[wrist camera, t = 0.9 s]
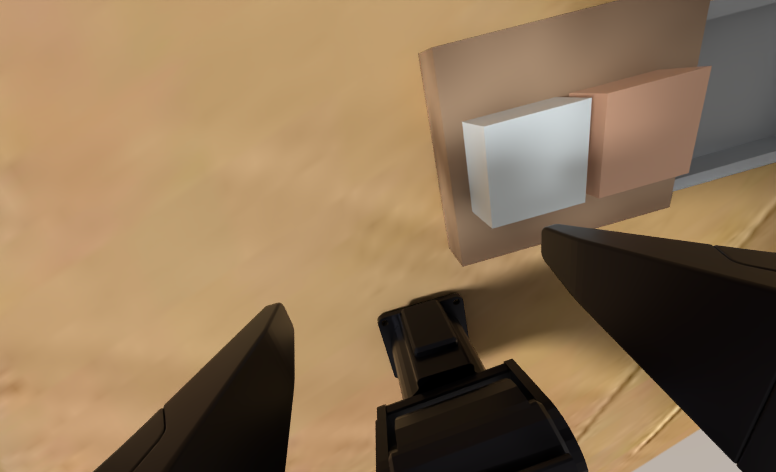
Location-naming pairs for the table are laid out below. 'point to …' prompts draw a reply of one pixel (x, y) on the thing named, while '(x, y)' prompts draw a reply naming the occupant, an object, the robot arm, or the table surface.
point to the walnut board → (544, 81)
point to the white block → (528, 159)
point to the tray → (736, 92)
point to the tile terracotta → (643, 128)
